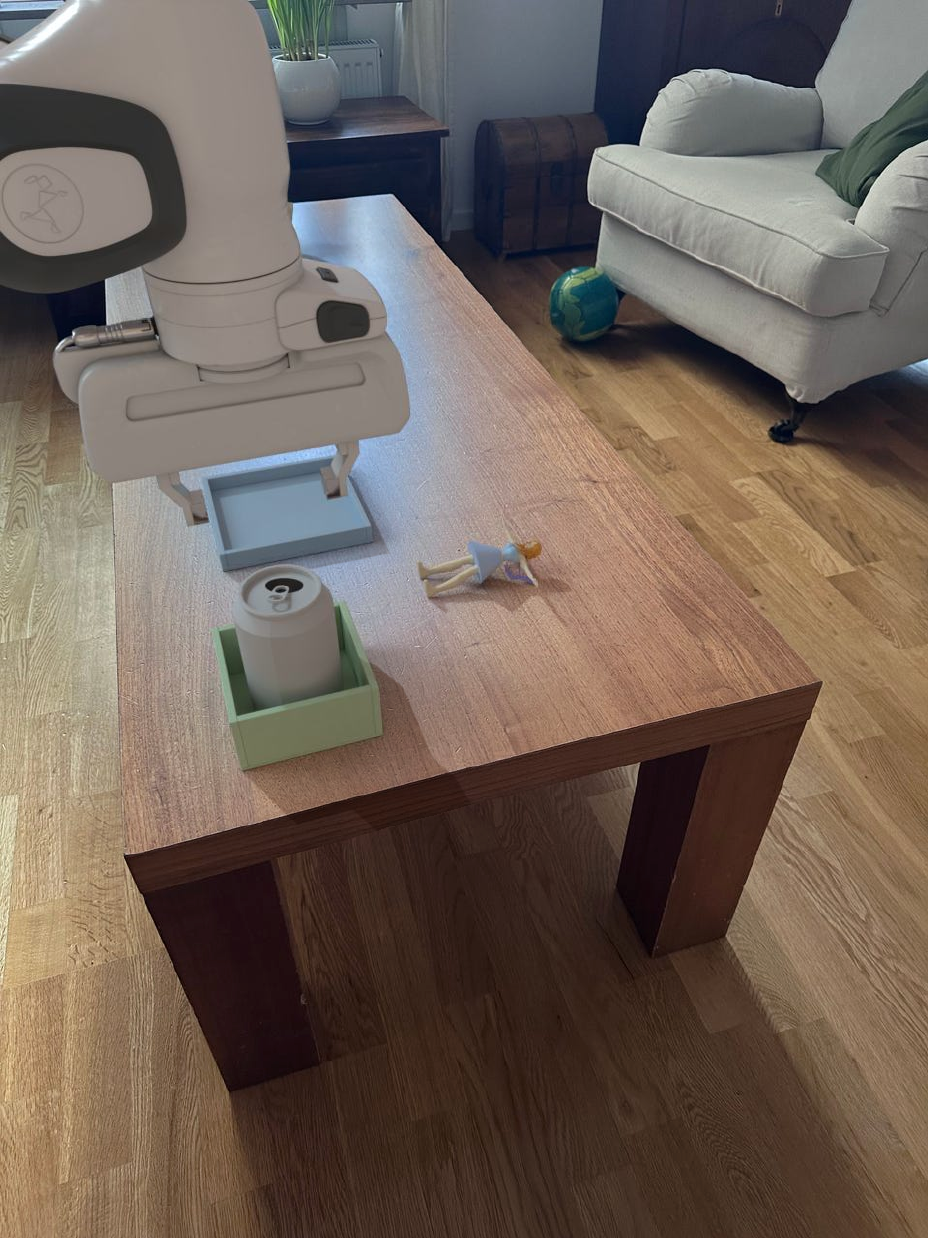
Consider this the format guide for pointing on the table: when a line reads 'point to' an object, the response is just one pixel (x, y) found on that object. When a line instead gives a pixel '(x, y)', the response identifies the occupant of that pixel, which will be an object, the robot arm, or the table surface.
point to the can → (287, 636)
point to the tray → (281, 514)
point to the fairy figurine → (483, 563)
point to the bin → (300, 704)
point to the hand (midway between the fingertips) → (267, 507)
